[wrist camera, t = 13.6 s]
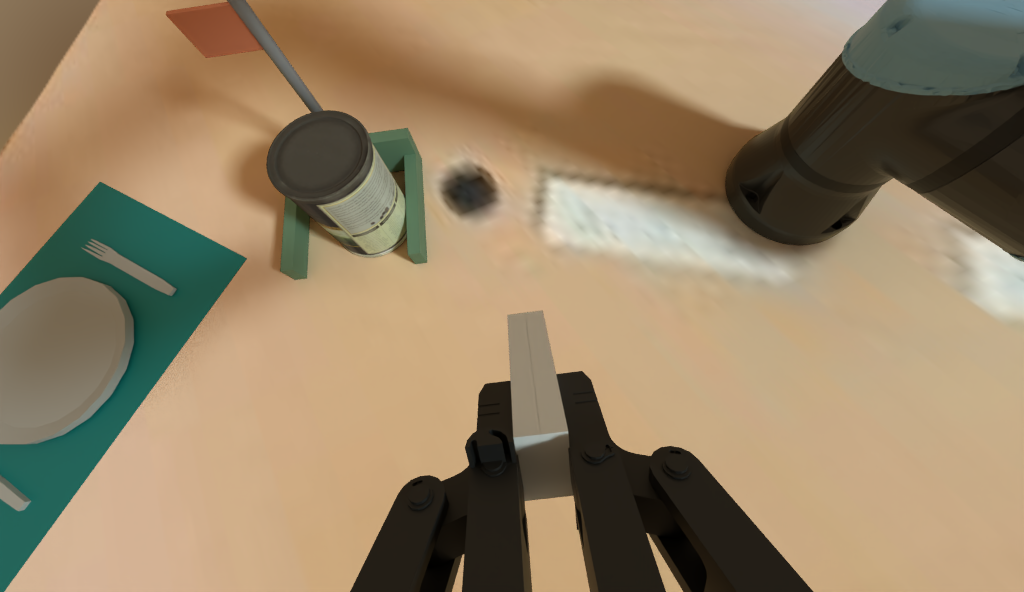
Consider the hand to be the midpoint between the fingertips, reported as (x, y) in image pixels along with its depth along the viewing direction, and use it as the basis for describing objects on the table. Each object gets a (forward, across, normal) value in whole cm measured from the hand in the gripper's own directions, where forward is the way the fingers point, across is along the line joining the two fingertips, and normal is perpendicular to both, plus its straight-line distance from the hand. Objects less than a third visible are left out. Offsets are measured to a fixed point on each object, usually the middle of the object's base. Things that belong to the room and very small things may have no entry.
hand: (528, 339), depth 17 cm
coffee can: (+36, -18, -4) cm, 41 cm away
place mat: (+28, -58, -13) cm, 66 cm away
